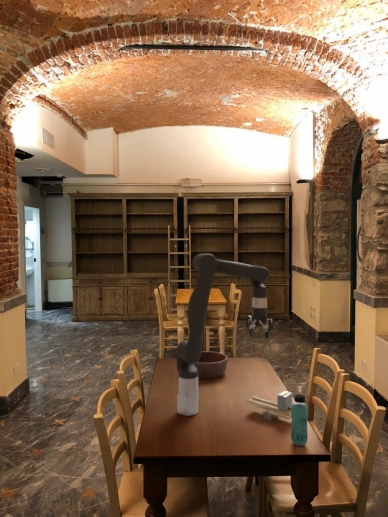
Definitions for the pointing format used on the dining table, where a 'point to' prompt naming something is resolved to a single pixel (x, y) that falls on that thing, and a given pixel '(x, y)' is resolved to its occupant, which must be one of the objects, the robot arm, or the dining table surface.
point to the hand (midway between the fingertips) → (259, 337)
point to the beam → (268, 408)
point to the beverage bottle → (299, 421)
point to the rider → (284, 400)
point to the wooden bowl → (211, 364)
